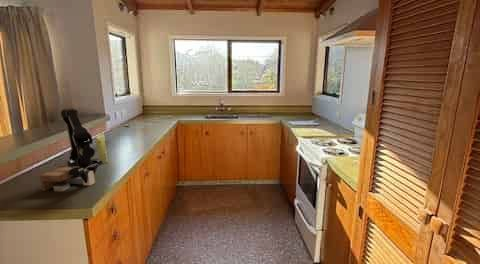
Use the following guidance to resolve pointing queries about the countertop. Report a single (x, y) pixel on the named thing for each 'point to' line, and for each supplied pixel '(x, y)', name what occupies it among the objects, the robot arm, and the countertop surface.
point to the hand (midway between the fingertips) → (88, 181)
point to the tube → (101, 148)
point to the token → (61, 186)
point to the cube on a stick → (80, 181)
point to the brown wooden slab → (55, 177)
